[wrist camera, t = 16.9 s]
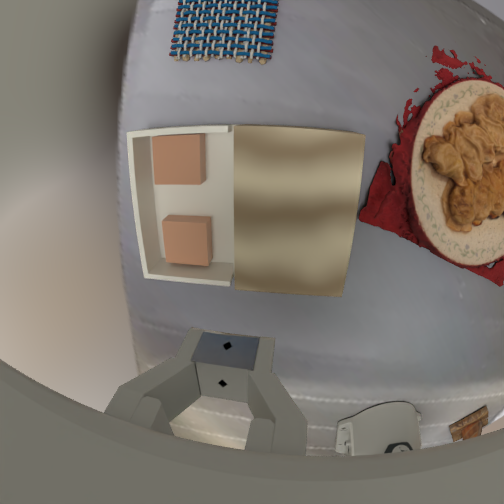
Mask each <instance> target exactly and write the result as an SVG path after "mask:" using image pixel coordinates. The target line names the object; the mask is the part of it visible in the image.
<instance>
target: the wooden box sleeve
mask: <svg viewBox="0 0 504 504" xmlns="http://www.w3.org/2000/svg"><path fill="white" fill-rule="evenodd" d="M364 146H365V135H363V134H359V133H356V132H350V131H342V130H333V129H324V128H312V127H299V126H282V125H254V124H242V125H236V126H234V270H235V290H245V291H257V292H270V293H284V294H299V295H316V296H334V297H342V293H343V289H344V284H345V279H346V274H347V269H348V263H349V258H350V253H351V247H352V241H353V235H354V229H355V222H356V216H357V209H358V201H359V194H360V186H361V177H362V168H363V157H364Z"/></svg>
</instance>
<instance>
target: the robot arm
mask: <svg viewBox="0 0 504 504" xmlns="http://www.w3.org/2000/svg"><path fill="white" fill-rule="evenodd" d="M274 346H275V338H270V337H257V336H247V335H238V334H230V333H223V332H217V331H211V330H203V329H198V328H193V327H192V328H191V329H189V331H188V333H187V335H186V337H185V339H184V341H183V343H182V345H181V347H180V349H179V351H178V353H177V355H176V357H175V358H169V359H168V360H166V361H164V362H162V363H161V364H159V365H157V366H155V367H154V368H152V369H150V370H148V371H147V372H145V373H143V374H141V375H139V376H138V377H136V378H134V379H132V380H130V381H129V382H127V383H125V384H123V385H121V386H119V388H118V390H117V391H116V393H115V395H114V396H113V398H112V400H111V401H110V403H109V405H108V406H107V408H106V410H105V412H104V413H102V412H100V411H97V410H95V409H93V408H90V407H88V406H85V405H83V404H81V403H79V402H76V401H74V400H72V399H70V398H68V397H66V396H64V395H62V394H60V393H58V392H56V391H54V390H52V389H50V388H48V387H46V386H44V385H42V384H40V383H39V382H37V381H35V380H33V379H32V378H29V377H28V376H26V375H25V374H23V373H21V372H20V371H18V370H16V369H15V368H13V367H12V366H10V365H8V364H7V363H5V362H4V361H2V360H1V359H0V504H504V428H503V429H500V430H497V431H494V432H490V433H487V434H484V435H481V436H477V437H473V438H470V439H466V440H462V441H458V442H454V443H449V444H445V445H440V446H435V447H429V448H423V449H420V448H421V436H420V429H419V421H420V420H421V419H422V416H421V414H420V413H418V412H416V411H415V408H414V406H413V405H411V404H409V403H406V402H392V403H386V404H381V405H378V406H375V407H372V408H369V409H367V410H365V411H363V412H361V413H359V414H357V415H356V416H354V417H351V418H348V419H345V420H342V421H340V422H338V425H337V434H336V443H335V451H336V452H338V453H344V454H345V456H306V443H307V420H306V419H305V417H304V416H303V414H302V413H301V411H300V410H299V409H298V407H297V406H296V404H295V403H294V401H293V400H292V398H291V397H290V395H289V394H288V392H287V391H286V389H285V388H284V386H283V385H282V383H281V382H280V380H279V379H278V377H277V376H276V374H275V373H272V366H273V356H274ZM200 395H202V396H208V397H215V398H222V399H228V400H233V401H239V402H245V403H248V406H249V408H250V410H251V412H252V414H253V416H254V419H253V420H252V421H251V423H250V428H249V433H248V437H247V442H246V446H245V450H241V449H234V448H228V447H222V446H217V445H212V444H207V443H202V442H197V441H193V440H188V439H184V438H180V437H176V436H174V434H173V431H172V429H171V426H170V424H169V422H170V421H171V420H173V419H174V418H175V417H176V416H178V415H179V414H180V413H181V412H183V411H184V410H185V409H186V408H187V407H189V406H190V405H191V404H192V403H194V402H195V401H196V400H197V399H198V398H199V397H201V396H200Z"/></svg>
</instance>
